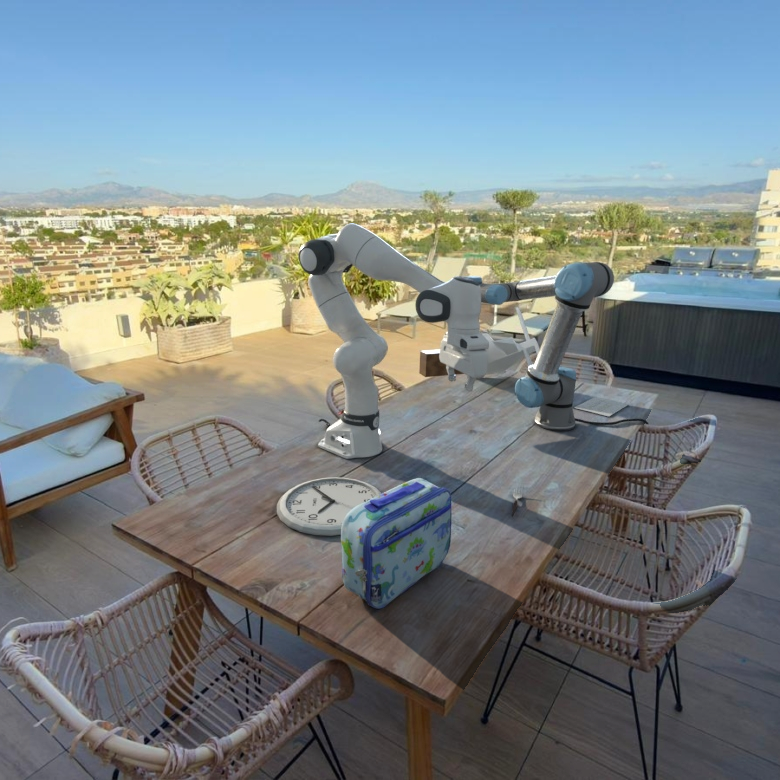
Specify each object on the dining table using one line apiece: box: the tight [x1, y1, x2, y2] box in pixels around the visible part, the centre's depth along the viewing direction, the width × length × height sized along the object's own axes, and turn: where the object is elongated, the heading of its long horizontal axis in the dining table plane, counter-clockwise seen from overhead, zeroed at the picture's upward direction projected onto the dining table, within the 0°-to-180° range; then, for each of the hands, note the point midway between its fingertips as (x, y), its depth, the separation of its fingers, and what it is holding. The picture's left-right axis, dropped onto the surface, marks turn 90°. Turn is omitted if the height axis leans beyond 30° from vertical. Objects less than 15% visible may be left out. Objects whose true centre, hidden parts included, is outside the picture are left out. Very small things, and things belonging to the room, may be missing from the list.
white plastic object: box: [481, 306, 541, 376], centre depth 260 cm, size 37×45×31 cm
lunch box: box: [340, 477, 452, 610], centre depth 110 cm, size 26×11×21 cm, turn 134°
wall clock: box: [276, 476, 383, 537], centre depth 142 cm, size 30×2×30 cm
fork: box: [511, 484, 525, 517], centre depth 145 cm, size 3×16×2 cm, turn 160°
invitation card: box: [573, 396, 629, 418], centre depth 226 cm, size 21×1×15 cm
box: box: [418, 348, 465, 378], centre depth 215 cm, size 24×6×10 cm, turn 111°
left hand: (460, 385), depth 148 cm, fingers open, 8 cm apart
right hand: (466, 369), depth 220 cm, fingers closed on box, 6 cm apart
